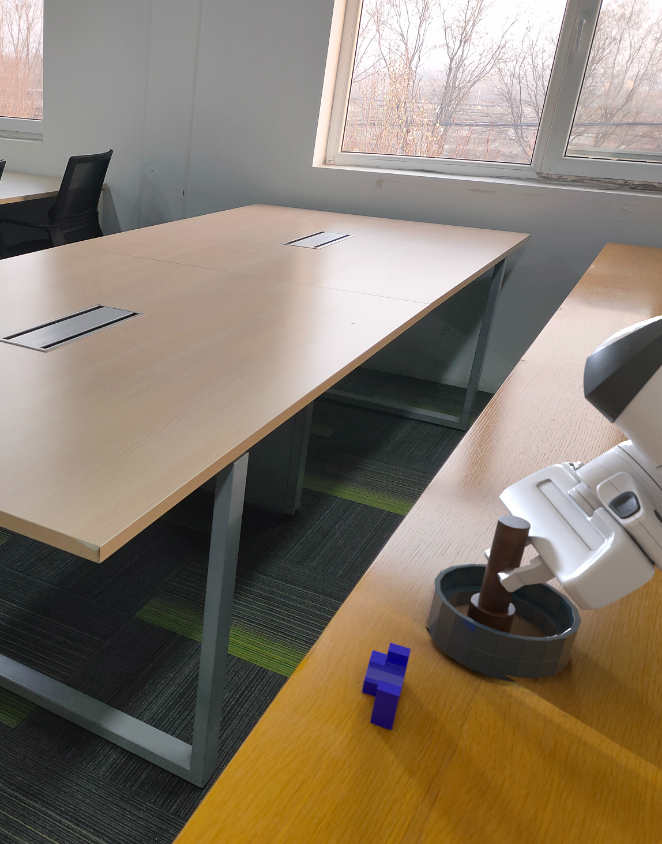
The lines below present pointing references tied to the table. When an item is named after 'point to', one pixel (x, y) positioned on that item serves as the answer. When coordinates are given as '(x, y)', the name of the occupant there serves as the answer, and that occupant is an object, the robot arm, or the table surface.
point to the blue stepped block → (386, 683)
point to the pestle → (505, 551)
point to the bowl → (493, 647)
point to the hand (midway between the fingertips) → (495, 572)
